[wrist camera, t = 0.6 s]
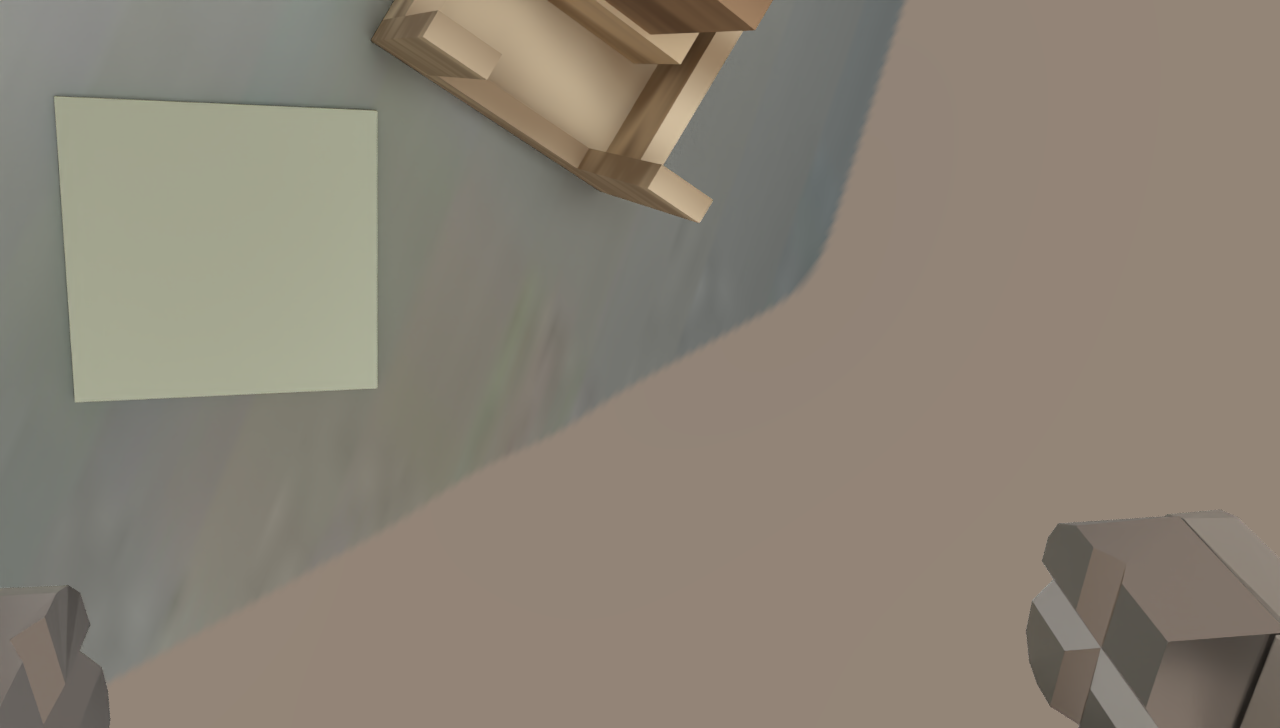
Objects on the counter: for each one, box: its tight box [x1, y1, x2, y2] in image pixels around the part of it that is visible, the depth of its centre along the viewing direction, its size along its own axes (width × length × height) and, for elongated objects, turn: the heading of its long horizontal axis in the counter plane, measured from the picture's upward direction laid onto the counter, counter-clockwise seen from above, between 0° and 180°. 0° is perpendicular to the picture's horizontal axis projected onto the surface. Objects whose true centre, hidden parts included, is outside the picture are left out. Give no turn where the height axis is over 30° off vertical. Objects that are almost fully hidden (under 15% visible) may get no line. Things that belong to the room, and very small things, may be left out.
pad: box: [54, 96, 377, 402], centre depth 46 cm, size 12×12×1 cm
